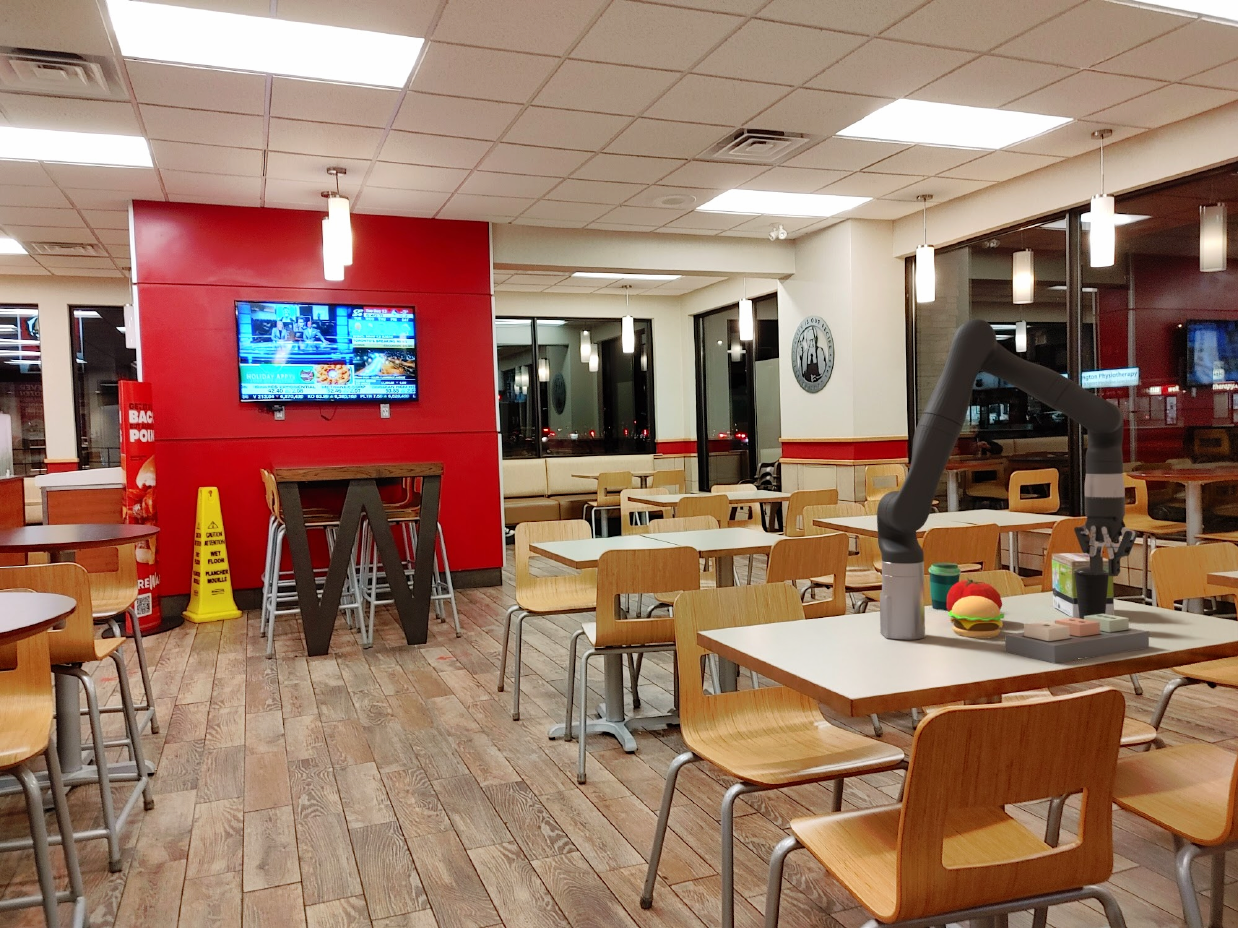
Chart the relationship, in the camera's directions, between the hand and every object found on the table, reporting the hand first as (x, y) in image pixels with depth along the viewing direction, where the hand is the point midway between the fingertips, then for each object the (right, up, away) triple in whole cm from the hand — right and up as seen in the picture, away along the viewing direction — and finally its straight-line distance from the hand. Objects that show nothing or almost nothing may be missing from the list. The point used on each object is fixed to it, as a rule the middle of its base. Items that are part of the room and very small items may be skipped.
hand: (1105, 574), depth 189 cm
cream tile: (-16, -12, -7) cm, 21 cm away
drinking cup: (+6, -15, +17) cm, 23 cm away
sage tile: (0, -12, 0) cm, 12 cm away
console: (-8, -15, -4) cm, 18 cm away
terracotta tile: (-8, -12, -4) cm, 15 cm away
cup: (-17, -15, +46) cm, 52 cm away
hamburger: (-22, -16, +14) cm, 31 cm away
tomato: (-17, -15, +27) cm, 36 cm away
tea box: (+14, -15, +36) cm, 42 cm away
